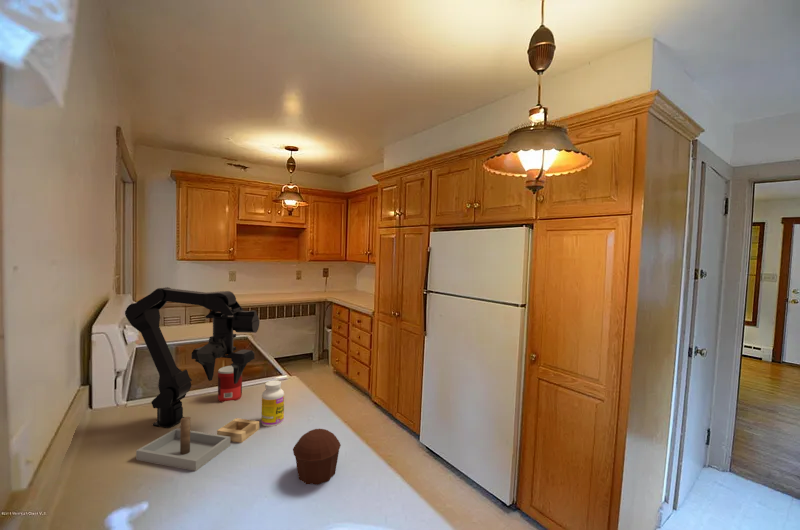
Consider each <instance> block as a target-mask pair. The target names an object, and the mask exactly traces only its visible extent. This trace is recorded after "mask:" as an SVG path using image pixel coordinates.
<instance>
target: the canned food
mask: <svg viewBox="0 0 800 530" xmlns="http://www.w3.org/2000/svg"><path fill="white" fill-rule="evenodd" d="M242 395H243V373H242V374H241V376H240V378H239V380H238V383H236V384H234V369H233V367H232V365H226V366H222V367H220V368H219V369H218V370H217V398H218V401H219V402H220V403H225V402H229V401H238V400H240V399H241V398H242Z"/></svg>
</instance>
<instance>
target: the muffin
mask: <svg viewBox="0 0 800 530" xmlns="http://www.w3.org/2000/svg"><path fill="white" fill-rule="evenodd" d="M341 446H342V445H341V442H340V441H339V438H337V436H336V435H335V434H334V433H333V432H331V431H329V430H328V429H324V428H314V429H311V430H309V431H307V432H306V433H304V434H303V435H302V436H301V437H300V438H299V439H298V440H297V442H296V443H295V445H294V446H293V448H292V451H293V456H294V457H295V462H296V471H297V476H298V480H299V481H301V482H303V483H304V484H305V485H316V486H319V485H321V484H323V483H326V482H329V481H330V480H331V479H332V478H333V477H334V476H335V474H336V470H337V463H338V461H339V460H338V458H339V453H340V448H341Z"/></svg>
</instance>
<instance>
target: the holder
mask: <svg viewBox="0 0 800 530" xmlns="http://www.w3.org/2000/svg"><path fill="white" fill-rule="evenodd" d="M259 430H260V421H258V420H254V419H253V420H252V419H246V418H240V417H235V418H234V419H233V420H231V421H229V422H228V423H226V424H225V425H223V426H222V427H220V428H219V429H217V431H216V435H222V436H229V437H230V442H234V443H239V444H242V443H243V442H245V441H247V440H248V439H249V438H250V437H251V436H253V435H254V434H256V432H258V431H259Z"/></svg>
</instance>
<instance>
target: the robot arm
mask: <svg viewBox="0 0 800 530" xmlns="http://www.w3.org/2000/svg"><path fill="white" fill-rule="evenodd" d="M169 302H170V303H177V304H185V305H196V306H201V307H203V308H205V309H207V310H210V312H209V313H207V314H206V315H205V316H204V317H205V318H206V319H212V336H209V338H208V343H207V344H204V345H203V346H200V347H197V348H194V349H193V350H192V352H191V359H192V360H194V361H195V362H197V363H198V364H200V365H201V366H202V368H203V370H204V373H205V375H206V377H207V380H208V381H209V382H211V381H213V379H214V372H215V365H216V359H223V358H225V359H230V360H231V362H232V363H231V364H230V366H232V367H233V369H234V384H236V383H238V380H239V378H240V376H241V374H242V375H243V372H244V370H245V367H246V366H247V365H248V363H250V362H252V361H253V360H255V351H253V350H251V349H241V350H238V351H236V350H237V346H234V338H237V334H236V333H239V334H240V333H245V334H246V333H250V334H251V333H252V334H256V333H257V332H258V331H259V328H260V319H259V315H258V314H257V310H244V309H243V307H242V306H241V305H240V303H239V302H238V300H237V298H236V295H235V294H234V292H232V291H229V290H225V291H224V290H222V291H210V292H204V291H197V290H196V291H195V290H187V289H181V288H180V289H179V288H172V287H171V288H170V287H168V286H165V287H158V288H156V289H154V290H153V291H151V293H149V294H148V295H146V296H144V297H142V298H141V299H139V300H137V302H134V303H131V304H129V305H128V306H127V307H126V309H125V311H124V316H125V318H126V319H127V321H128V322H129V324H130V325H131V326H132V327H133V328H134V329H136V330H137V331H138V332H139V333H141V336H142V339H143V341H144V343H145V346H146V348H147V349H148V352H149V354H150V357H151V359H152V361H153V363H154V366H155V368H156V371H157V373H158V385H157V387H158V389H159V394H158V395H157V396H155V398H154V399H153V400H152V401H150V403H151V405H152V408H153V409H156V410H157V413H156V414H157V415H156V417H157V418H156V421H155V422H153V423H152V426H153V427H154V426H155V427H161V428H173V426H175V425H177V424H179V423H181V418H183V417H184V408H183V401H181V400H182V399H185V398H186V396H187V393H189V392H190V390H191V388H192V381H193V380H192V378H191V376H190V375H189V371H188V370H187V369H184V370H181V369H180V368H178V366H177V364H176V362H175V359H174V357H173V355H172V352H171V350H170V348H169V345H168V344H167V340H166V339H165V337H164V335H163V332H162V330H161V327H160V320H161V314H160V310H161V309H162V308H163V307H165V305H166V304H167V303H169ZM234 331H235V333H234ZM234 351H235V352H234Z"/></svg>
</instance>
